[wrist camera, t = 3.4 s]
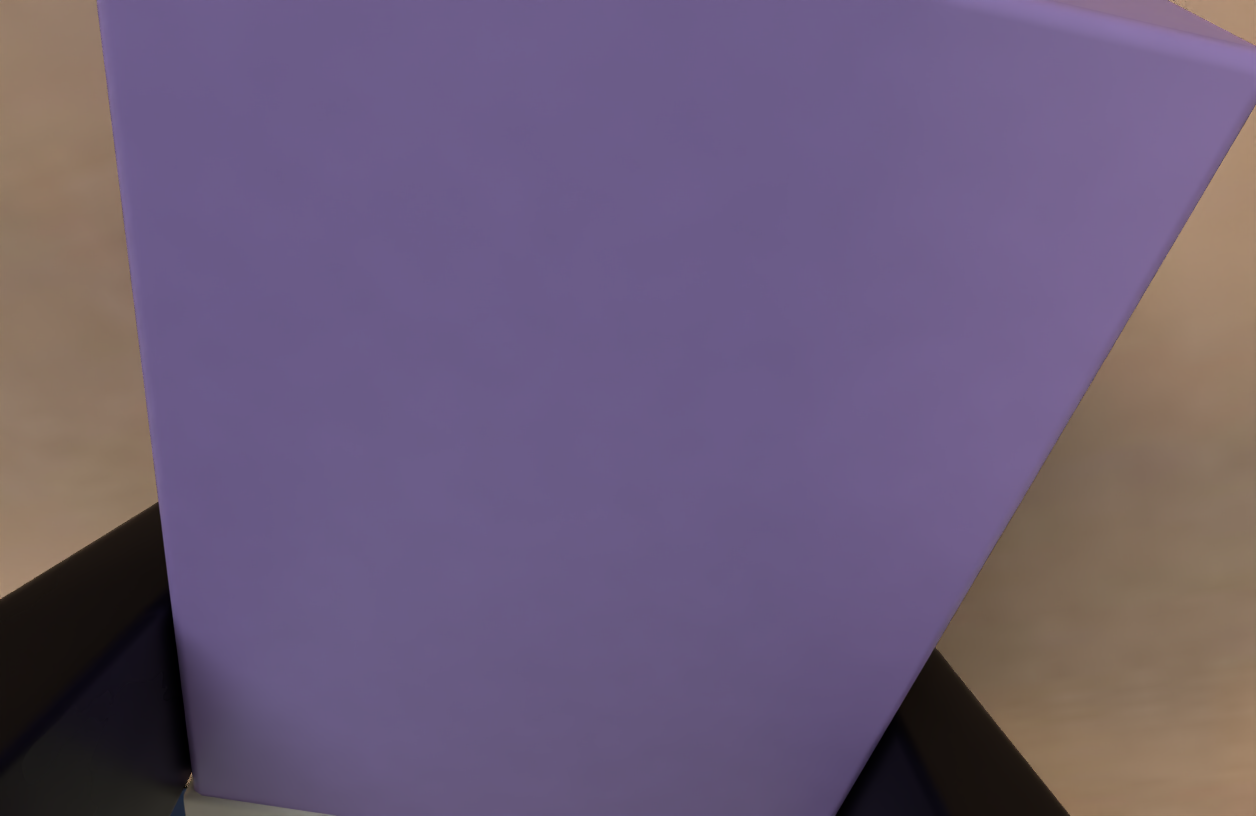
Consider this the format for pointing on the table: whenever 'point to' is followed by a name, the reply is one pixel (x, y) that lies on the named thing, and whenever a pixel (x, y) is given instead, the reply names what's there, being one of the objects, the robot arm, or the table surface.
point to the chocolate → (617, 367)
